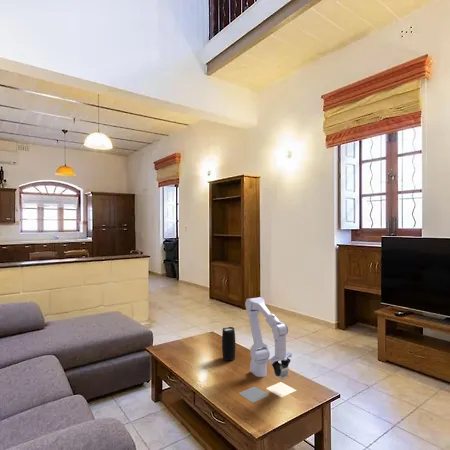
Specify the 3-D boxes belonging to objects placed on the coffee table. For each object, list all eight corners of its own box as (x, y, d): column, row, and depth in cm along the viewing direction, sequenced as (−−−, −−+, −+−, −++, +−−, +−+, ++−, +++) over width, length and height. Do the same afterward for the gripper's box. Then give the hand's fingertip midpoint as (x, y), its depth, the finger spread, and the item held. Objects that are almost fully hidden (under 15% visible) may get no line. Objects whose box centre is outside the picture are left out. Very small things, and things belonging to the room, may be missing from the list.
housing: (273, 374, 163) (273, 364, 163) (279, 372, 165) (279, 362, 165) (282, 379, 158) (282, 369, 158) (288, 376, 160) (288, 366, 160)
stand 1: (238, 396, 159) (238, 393, 159) (255, 389, 165) (255, 386, 165) (252, 405, 150) (252, 402, 150) (269, 398, 156) (269, 395, 156)
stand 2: (265, 391, 163) (265, 388, 163) (280, 384, 169) (280, 381, 169) (281, 400, 154) (281, 397, 154) (296, 393, 160) (296, 390, 160)
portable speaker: (232, 355, 209) (232, 325, 209) (237, 360, 200) (237, 330, 200) (220, 357, 206) (220, 327, 206) (224, 362, 197) (224, 331, 197)
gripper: (275, 353, 154) (276, 381, 154) (295, 346, 163) (296, 373, 163) (265, 349, 160) (266, 376, 160) (285, 342, 168) (286, 368, 168)
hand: (280, 374), depth 162 cm, fingers closed on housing, 4 cm apart
